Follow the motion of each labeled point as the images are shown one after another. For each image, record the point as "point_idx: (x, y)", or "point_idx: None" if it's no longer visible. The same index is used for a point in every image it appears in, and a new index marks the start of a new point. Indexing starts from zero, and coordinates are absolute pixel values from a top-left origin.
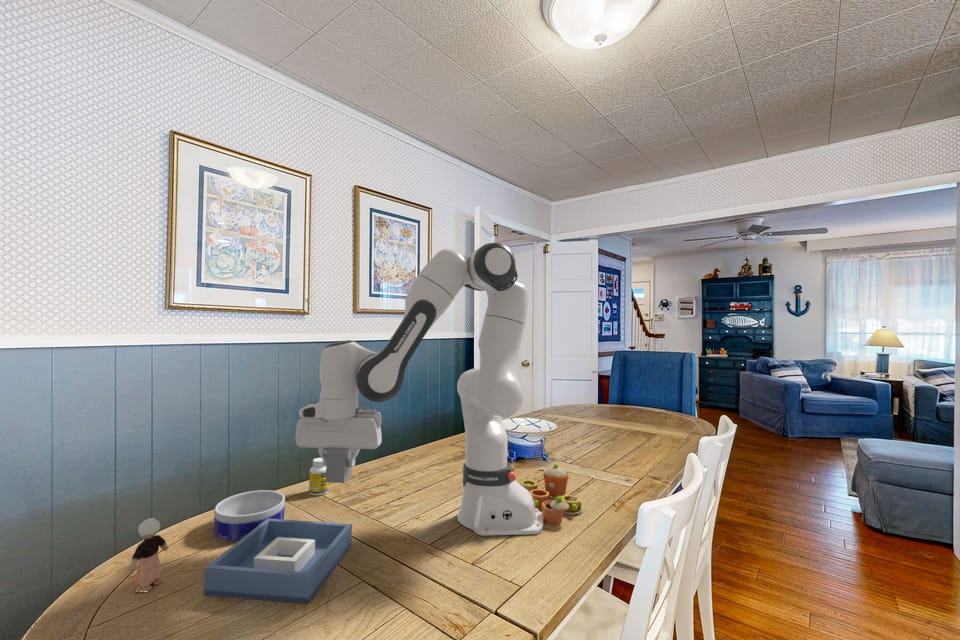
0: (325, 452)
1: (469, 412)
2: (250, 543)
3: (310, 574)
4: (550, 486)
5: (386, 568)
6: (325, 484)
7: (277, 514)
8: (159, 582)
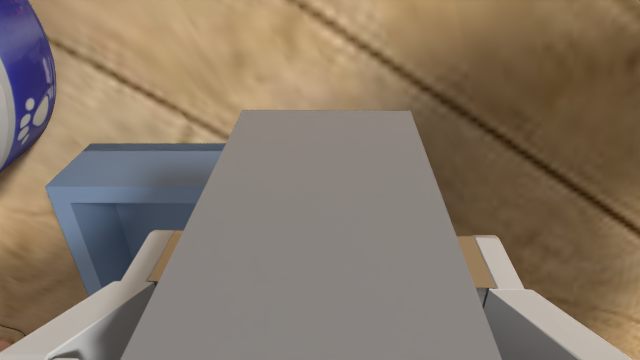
0: (94, 345)
1: None
2: (116, 276)
3: None
4: None
5: (556, 238)
6: None
7: (16, 87)
8: (22, 338)
